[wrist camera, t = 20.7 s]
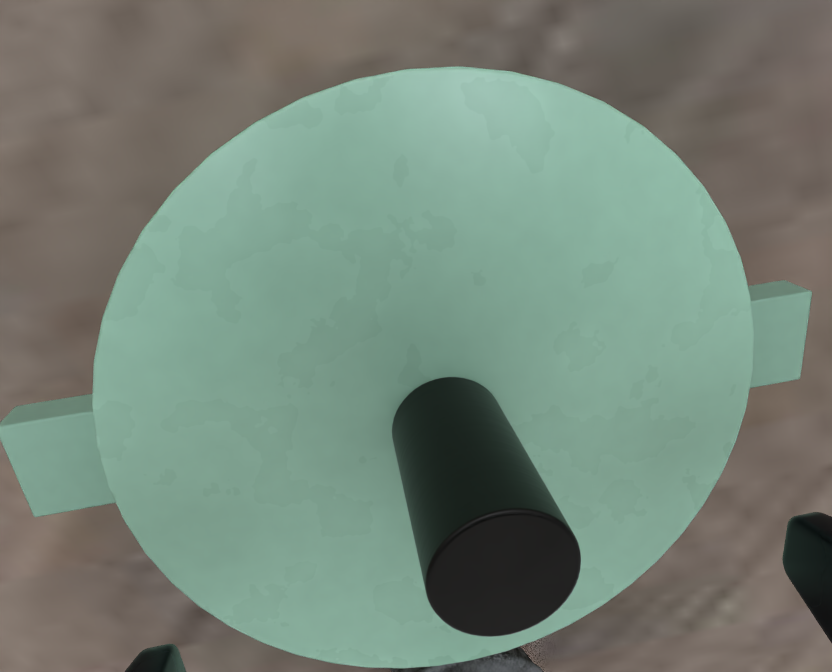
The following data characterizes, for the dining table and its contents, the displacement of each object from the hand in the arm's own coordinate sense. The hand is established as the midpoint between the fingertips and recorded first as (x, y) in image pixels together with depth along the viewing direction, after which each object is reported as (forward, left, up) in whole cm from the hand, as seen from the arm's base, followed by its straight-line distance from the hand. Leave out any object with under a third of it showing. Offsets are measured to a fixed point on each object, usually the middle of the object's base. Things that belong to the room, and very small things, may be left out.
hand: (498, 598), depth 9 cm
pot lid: (0, 0, -5) cm, 5 cm away
